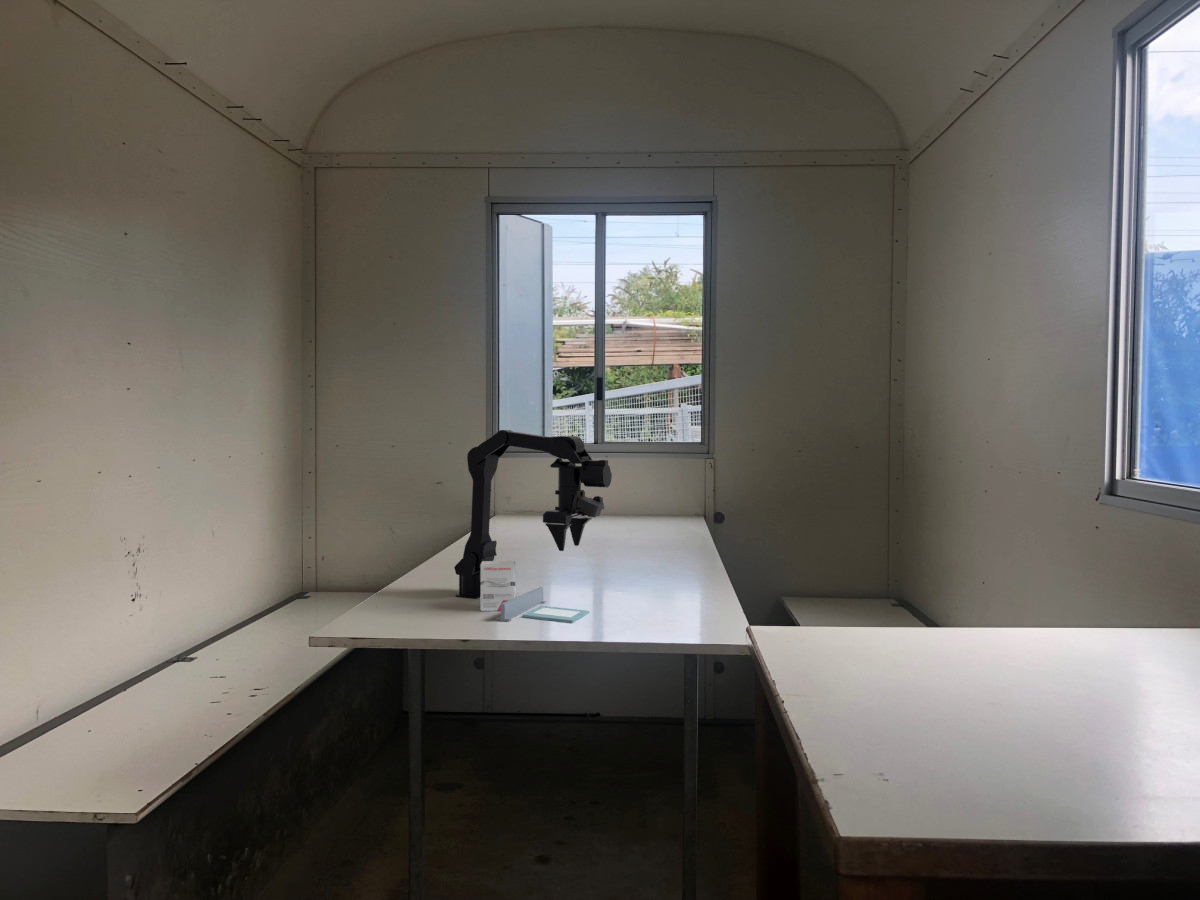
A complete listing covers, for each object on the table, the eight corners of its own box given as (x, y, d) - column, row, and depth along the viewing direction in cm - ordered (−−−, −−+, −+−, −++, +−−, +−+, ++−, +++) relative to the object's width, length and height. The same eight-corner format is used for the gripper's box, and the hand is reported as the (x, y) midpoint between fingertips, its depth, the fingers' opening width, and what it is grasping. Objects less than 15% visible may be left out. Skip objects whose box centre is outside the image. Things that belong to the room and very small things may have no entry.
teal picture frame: (522, 617, 177) (522, 614, 177) (541, 608, 187) (541, 605, 187) (572, 623, 172) (572, 620, 172) (589, 613, 182) (589, 610, 182)
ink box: (515, 606, 188) (515, 559, 188) (515, 611, 183) (515, 563, 183) (481, 606, 188) (481, 560, 187) (480, 611, 183) (480, 563, 182)
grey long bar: (497, 620, 174) (497, 603, 174) (536, 602, 193) (536, 586, 193) (508, 621, 173) (508, 604, 173) (546, 603, 192) (546, 587, 191)
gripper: (584, 490, 176) (583, 556, 176) (613, 484, 193) (612, 545, 193) (541, 488, 180) (541, 553, 180) (573, 483, 197) (573, 542, 197)
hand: (569, 548), depth 188 cm, fingers open, 9 cm apart
